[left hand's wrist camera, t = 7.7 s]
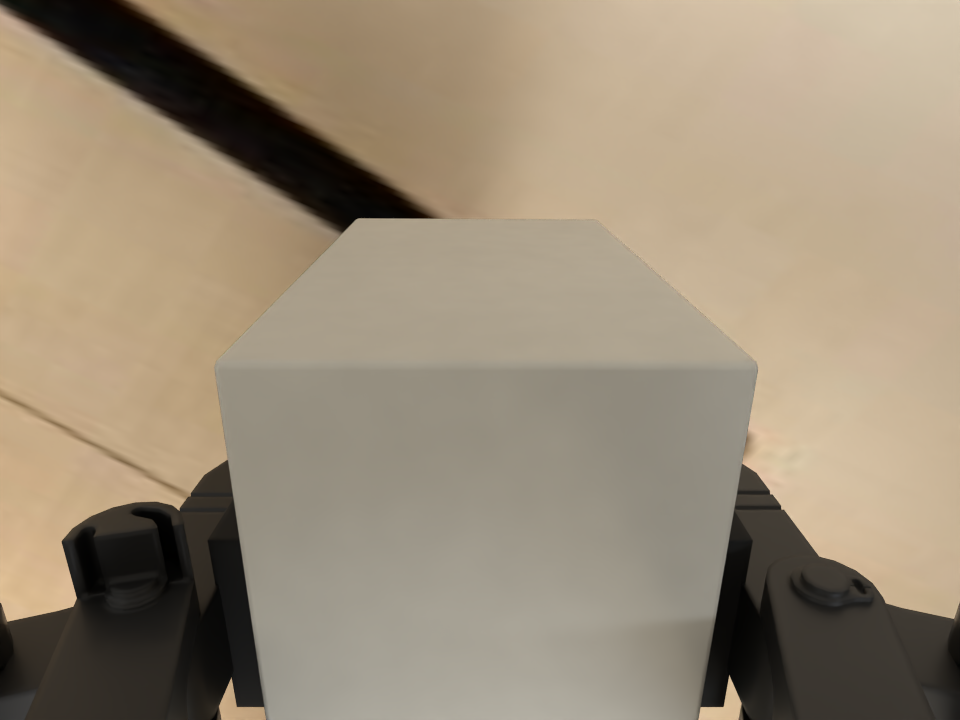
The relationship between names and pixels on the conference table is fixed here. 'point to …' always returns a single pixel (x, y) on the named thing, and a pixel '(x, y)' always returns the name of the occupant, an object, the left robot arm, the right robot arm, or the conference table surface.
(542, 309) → the bar
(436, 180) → the conference table surface
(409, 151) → the conference table surface
